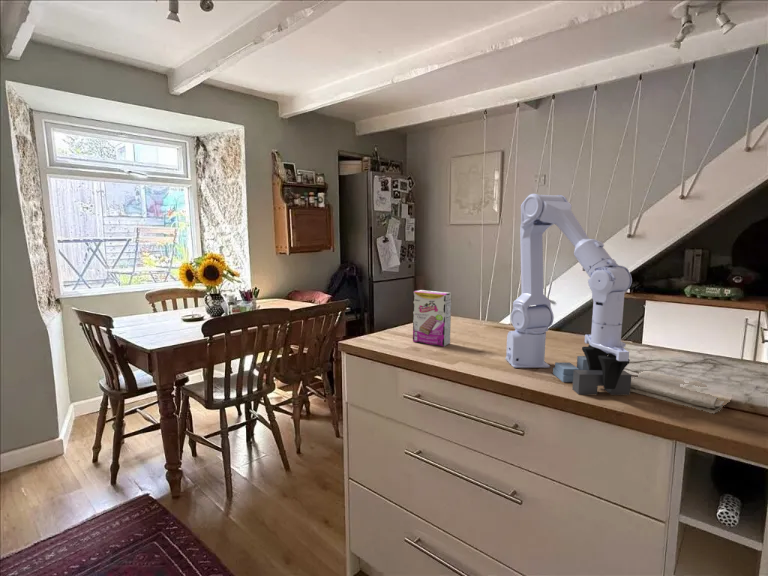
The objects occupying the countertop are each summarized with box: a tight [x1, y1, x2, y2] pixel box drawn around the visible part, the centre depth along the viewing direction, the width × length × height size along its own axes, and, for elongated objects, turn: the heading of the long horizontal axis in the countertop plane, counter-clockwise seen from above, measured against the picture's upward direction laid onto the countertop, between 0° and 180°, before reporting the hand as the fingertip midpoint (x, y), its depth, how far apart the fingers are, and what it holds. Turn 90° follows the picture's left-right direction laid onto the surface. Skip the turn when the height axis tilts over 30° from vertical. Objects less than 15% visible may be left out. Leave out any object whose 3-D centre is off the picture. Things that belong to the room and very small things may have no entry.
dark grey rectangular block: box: [572, 369, 632, 396], centre depth 92 cm, size 11×3×4 cm, turn 89°
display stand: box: [552, 355, 589, 383], centre depth 101 cm, size 12×6×5 cm, turn 90°
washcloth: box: [630, 370, 725, 415], centre depth 91 cm, size 12×18×3 cm, turn 40°
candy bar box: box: [412, 289, 452, 347], centre depth 132 cm, size 11×5×16 cm, turn 58°
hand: (602, 383), depth 92 cm, fingers open, 5 cm apart
